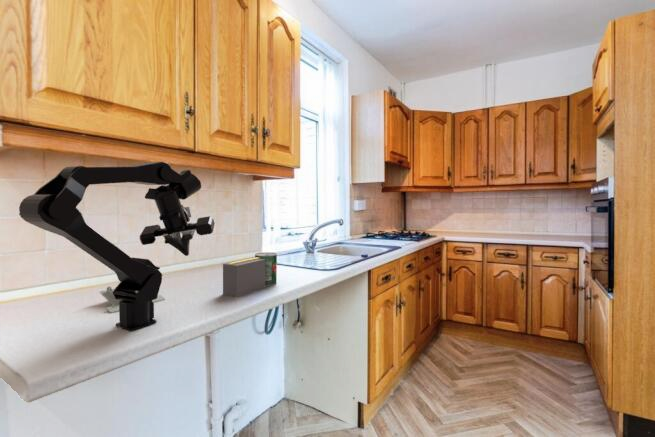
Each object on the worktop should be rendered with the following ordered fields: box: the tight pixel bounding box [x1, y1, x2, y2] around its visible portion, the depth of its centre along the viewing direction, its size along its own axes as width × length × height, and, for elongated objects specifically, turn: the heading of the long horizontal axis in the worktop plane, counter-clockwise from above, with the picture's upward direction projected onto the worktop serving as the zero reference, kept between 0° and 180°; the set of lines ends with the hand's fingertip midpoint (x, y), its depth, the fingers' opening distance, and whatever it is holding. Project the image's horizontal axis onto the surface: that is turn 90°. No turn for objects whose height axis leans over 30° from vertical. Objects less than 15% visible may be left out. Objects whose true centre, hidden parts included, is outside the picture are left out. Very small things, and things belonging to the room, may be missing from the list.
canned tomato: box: [254, 252, 278, 287], centre depth 121 cm, size 8×8×11 cm
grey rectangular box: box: [222, 257, 266, 298], centre depth 111 cm, size 14×6×10 cm, turn 152°
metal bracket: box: [99, 283, 166, 314], centre depth 97 cm, size 14×6×15 cm
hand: (187, 254), depth 95 cm, fingers closed
